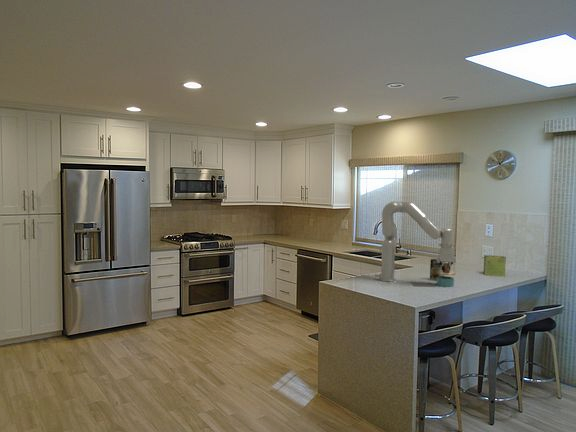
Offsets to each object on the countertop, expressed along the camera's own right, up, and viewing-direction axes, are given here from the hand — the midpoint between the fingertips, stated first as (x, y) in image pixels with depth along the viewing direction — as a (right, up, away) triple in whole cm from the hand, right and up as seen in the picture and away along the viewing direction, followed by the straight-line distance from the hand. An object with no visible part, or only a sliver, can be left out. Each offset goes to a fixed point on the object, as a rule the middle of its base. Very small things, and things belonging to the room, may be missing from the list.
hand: (445, 271), depth 313 cm
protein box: (+57, -9, +47) cm, 74 cm away
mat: (-16, -11, +2) cm, 19 cm away
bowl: (0, -11, +1) cm, 11 cm away
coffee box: (0, -10, +20) cm, 22 cm away
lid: (0, -2, 0) cm, 2 cm away
